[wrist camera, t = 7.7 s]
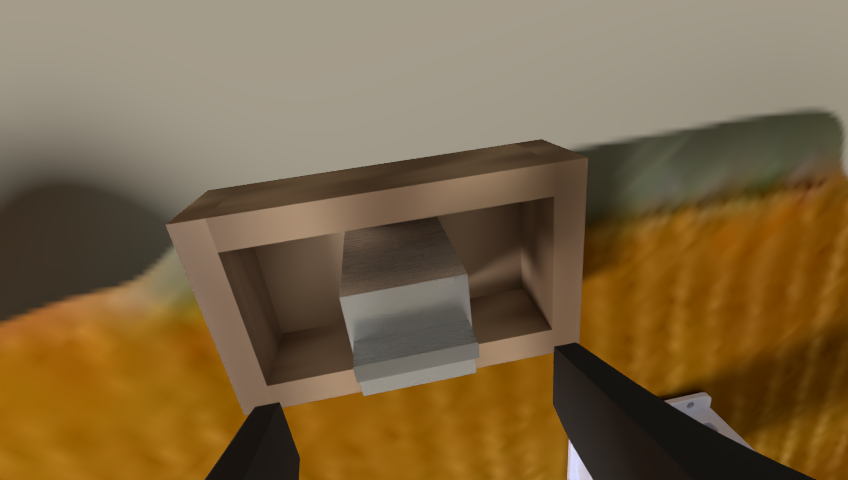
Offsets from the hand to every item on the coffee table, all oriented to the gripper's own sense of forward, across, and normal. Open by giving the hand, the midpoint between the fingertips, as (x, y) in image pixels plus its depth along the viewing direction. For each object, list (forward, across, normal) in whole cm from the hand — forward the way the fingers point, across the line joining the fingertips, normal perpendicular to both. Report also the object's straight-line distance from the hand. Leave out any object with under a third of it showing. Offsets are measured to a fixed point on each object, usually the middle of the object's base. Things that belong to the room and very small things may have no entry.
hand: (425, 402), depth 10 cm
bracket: (+9, 0, 0) cm, 9 cm away
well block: (+9, 0, 0) cm, 9 cm away
